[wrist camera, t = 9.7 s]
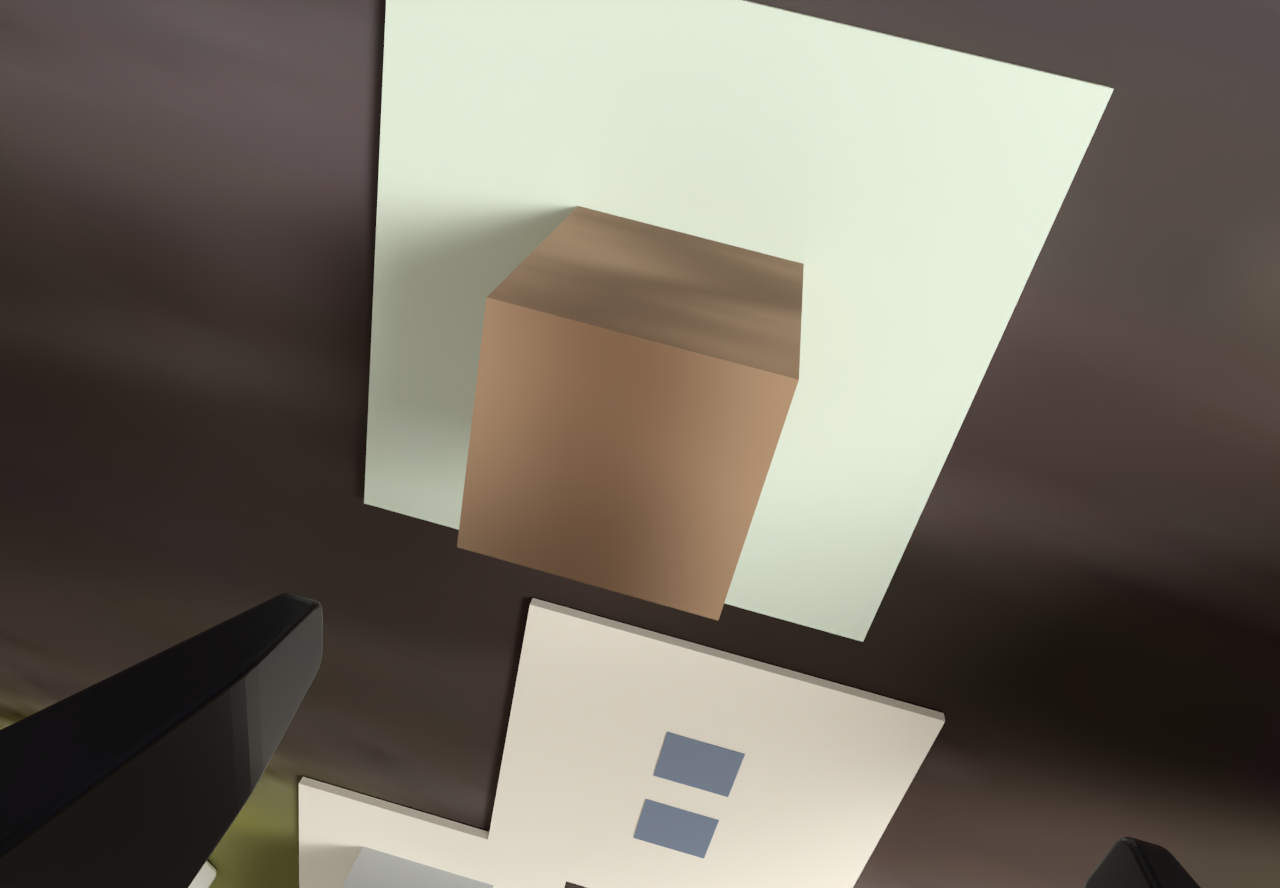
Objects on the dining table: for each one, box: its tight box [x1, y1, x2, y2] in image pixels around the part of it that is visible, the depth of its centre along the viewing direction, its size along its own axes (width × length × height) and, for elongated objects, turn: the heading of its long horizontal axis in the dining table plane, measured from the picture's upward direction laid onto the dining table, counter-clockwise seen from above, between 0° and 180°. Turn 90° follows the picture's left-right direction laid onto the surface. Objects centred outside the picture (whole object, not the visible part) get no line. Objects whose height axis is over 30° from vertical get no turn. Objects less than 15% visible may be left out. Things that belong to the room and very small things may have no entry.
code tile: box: [488, 598, 945, 888], centre depth 27 cm, size 12×12×1 cm
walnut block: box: [457, 206, 804, 620], centre depth 17 cm, size 5×5×6 cm
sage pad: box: [364, 0, 1114, 642], centre depth 20 cm, size 14×14×1 cm
